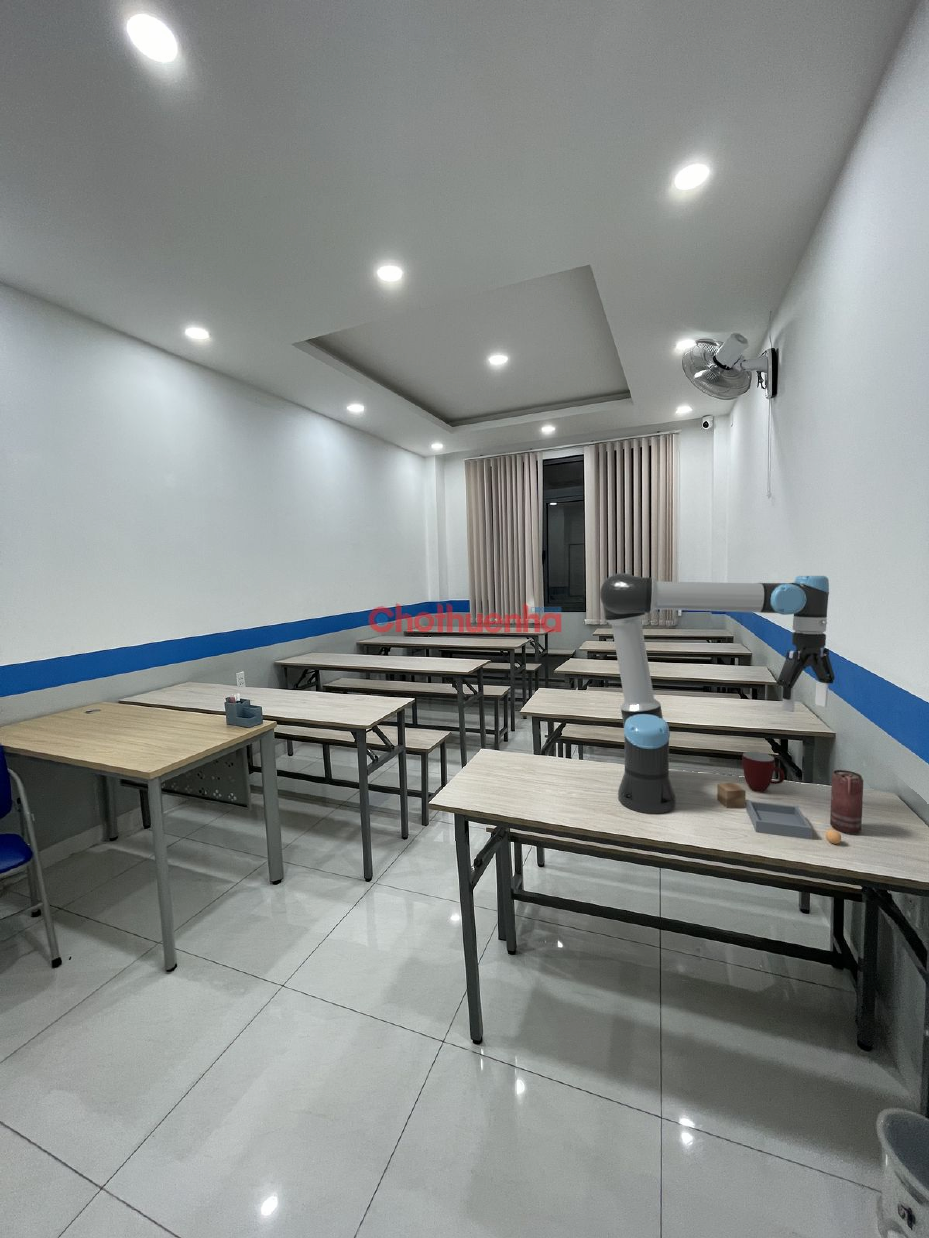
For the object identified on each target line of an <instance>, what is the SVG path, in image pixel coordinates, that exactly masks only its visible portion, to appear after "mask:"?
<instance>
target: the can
mask: <svg viewBox="0 0 929 1238" xmlns="http://www.w3.org/2000/svg"><path fill="white" fill-rule="evenodd" d="M830 791H831V792H830V813H829V815H830V816H829V817H830V819H829V820H830V821H829V825H830V826H831V828H832V830H835V831H837V832H839V833H842V834H846V835H851V836H852V835H854V836H855V835H858V834H860V833H861V832H862V823H863V822H862V821H863V820H862V819H863V798H864V779H863V776H862V775H861V774H860V773H858V772H854V771H850V770H846V769H845V770H844V769H835V770H834V771H833V773H831V789H830Z"/></svg>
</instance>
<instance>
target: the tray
mask: <svg viewBox="0 0 929 1238" xmlns="http://www.w3.org/2000/svg"><path fill="white" fill-rule="evenodd" d="M746 812H747V815H748V817H749V820H750V823H751V824H752V826H753V828H754V831H755V833H760V834H769V835H776V836H782V837H791V838H798V839H805V840H812V839H813V827H812V826H811V824H810V823H809V821H808V820H807V818H806V817H805V815H804V814H803V812H802V811H801V809H800V808H799V806H798V805H789V804H779V803H773V802H772V803H771V802H763V801H762V802H761V801H754V800H746Z"/></svg>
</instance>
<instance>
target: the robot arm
mask: <svg viewBox="0 0 929 1238" xmlns="http://www.w3.org/2000/svg"><path fill="white" fill-rule="evenodd" d="M829 581H830V580H829V578H828V577H827V576H826V575H797V576H796V577H795V579H794V582H787V583H786V582H755V583H752V582H750V583H749V582H707V581H706V582H704V581H703V582H701V581H700V582H699V581H696V582H695V581H658V580H656V579H655V578H653V577H642V576H635V575H632V574H629V573H625V572H623V573H622V572H621V573H619V572H618V573H615V574H612V575H610V576H609V577H607V578H606V580H604V581H603V583H602V585H601V587H600V591H599V597H600V601H601V603H602V605H603V612H604V618H605V621H606V623H608V624H610V625H611V628H612V634H613V641H614V646H615V652H616V658H617V664H618V671H619V675H620V681H621V688H622V692H623V693H622V694H623V700H624V701H623V702H622V704H621V706H620V712H621V718H622V724H623V734H624V737H623V738H624V773H623V776H622V779H621V782H620V784H619V786H618V789H617V790H618V792H617V794H618V801H619V803H620V804H621V805H623V806H624V807H626V808H628V809H629V810H632V811H635V812H639V813H645V814H653V815H654V814H656V815H657V814H665V813H668V812H670V811H671V812H672V810H674V809H675V808H676V794H675V791H674V789H673V786H672V782H671V780H670V771H669V767H670V766H669V765H670V763H669V762H670V761H669V759H670V758H669V757H670V736H671V731H670V726H669V724H668V723H667V721H666V720H665V719H664V718H663V713H662V711H663V710H662V706H661V702H660V701H658V700H657V699H655V696H654V690H653V683H652V678H651V672H650V666H649V660H648V654H647V647H646V643H645V642H646V641H645V635H644V631H643V630H644V629H643V625H642V620H643V619H644V618H645V616H646V613H647V614H652V613H653V612H654V611H655V610H665V611H666V610H668V611H701V612H732V613H733V612H736V613H761V614H779V615H783V616H784V615H785V616H787V615H793V619H792V630H793V631H794V632H793V633H792V637H791V638H792V639H791V644H792V646H794V647H796V648H795V650H789V649H788V650H787V651H786V656H785V660H784V662H783V663H784V664H783V665H782V668H781V670H780V673H779V676H778V679H777V681H776V684H777V685H778V687H782V711H786V712H788V713H789V712H790V713H795V704H796V703H795V701H796V700H795V699H796V688H795V687H794V686H795V684H796V683H797V681H798V679H799V677H800V676H801V674H802V672H803V671H804V670H805V669H807V668H809V667H811V669H812V671H813V673H814V674H815V676H816V678H817V680H818V681H815V682H816V686H815V700H814V705H815V706H821V707H824V708H825V707H826V708H827V707H828V697H829V696H828V695H829V684H833V683H834V681H835V678H836V676H835V673H834V669H833V666H832V662H831V660H830V659H831V658H830V650H829V648H825V647H826V642H827V641H826V638H827V635H826V634H825V633H826V631H827V624H828V622H827V618H828V605H829V595H830V583H829Z"/></svg>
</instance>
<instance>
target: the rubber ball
mask: <svg viewBox="0 0 929 1238" xmlns="http://www.w3.org/2000/svg"><path fill="white" fill-rule="evenodd" d="M842 838H843V837H842V835H841V832H839V831H837V830H835V829H828V830H826V832H825V839H826V840H827V841H828V842H830V843H831V844H835V845H836V844H839V843H841V842H842V840H843V839H842Z"/></svg>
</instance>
